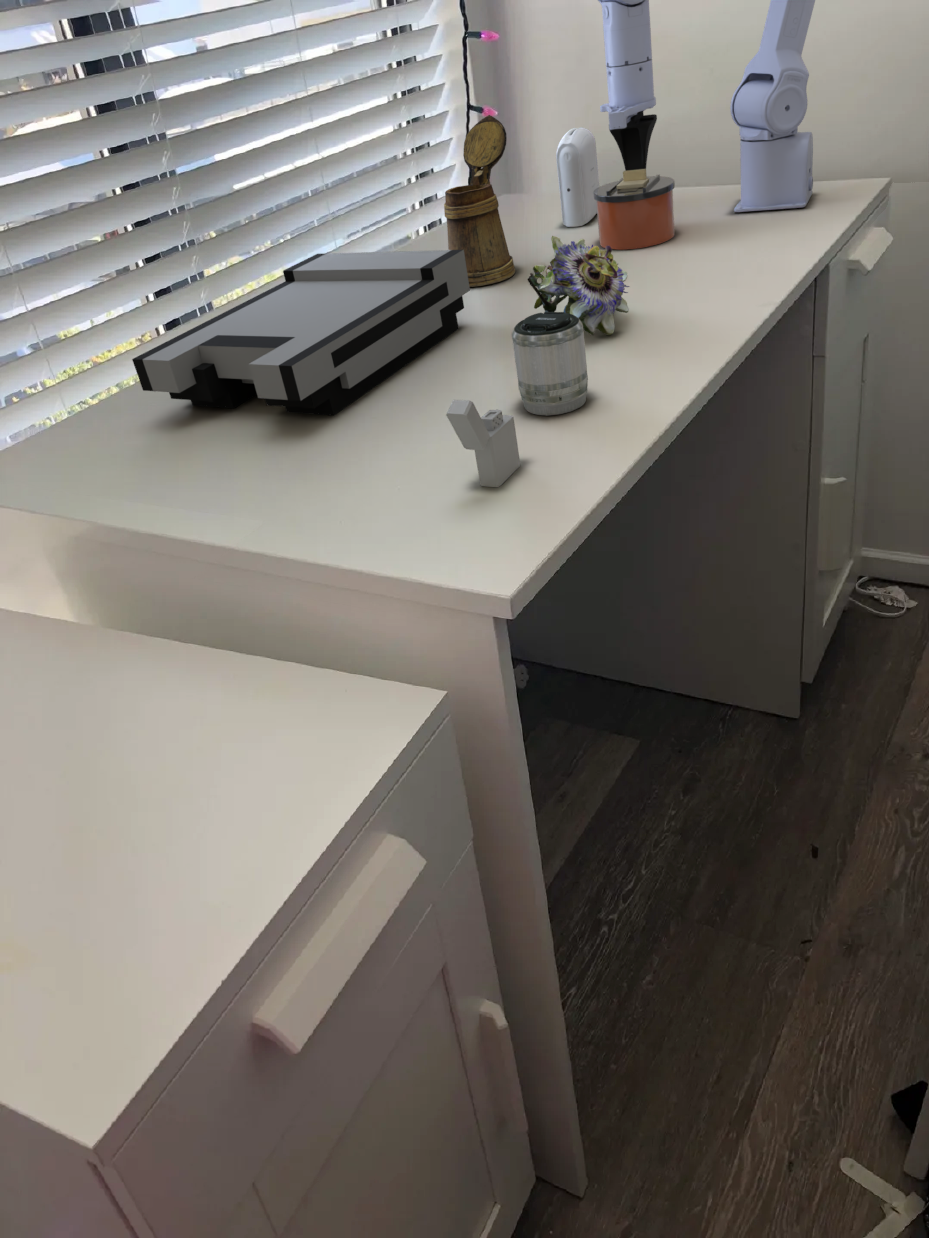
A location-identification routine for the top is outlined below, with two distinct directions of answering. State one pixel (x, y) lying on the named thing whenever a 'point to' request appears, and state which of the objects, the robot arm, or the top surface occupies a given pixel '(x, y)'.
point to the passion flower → (582, 284)
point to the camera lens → (551, 362)
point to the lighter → (487, 440)
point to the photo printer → (577, 176)
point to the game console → (316, 333)
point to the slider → (633, 179)
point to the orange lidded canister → (635, 214)
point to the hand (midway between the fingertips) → (636, 178)
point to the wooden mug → (480, 208)
